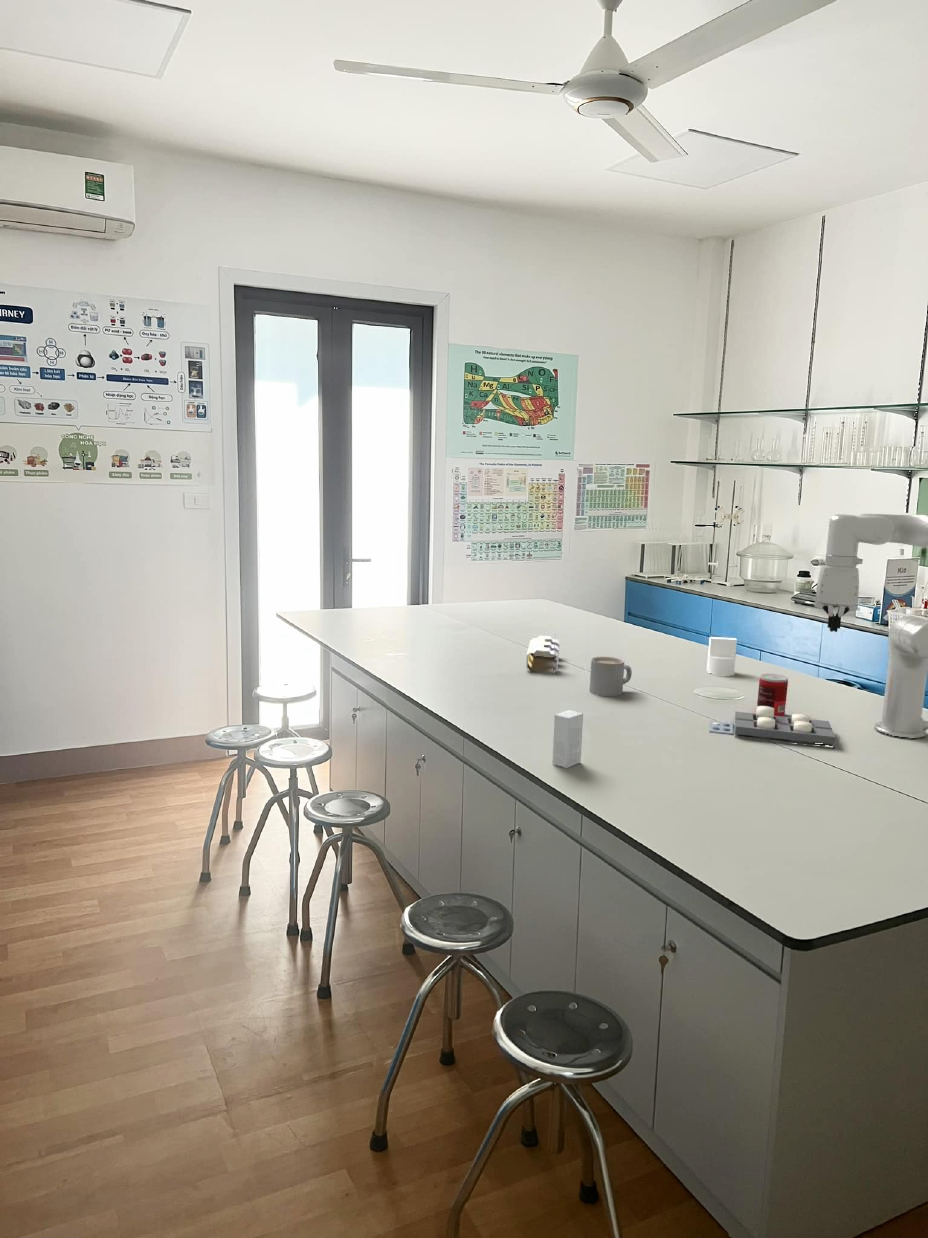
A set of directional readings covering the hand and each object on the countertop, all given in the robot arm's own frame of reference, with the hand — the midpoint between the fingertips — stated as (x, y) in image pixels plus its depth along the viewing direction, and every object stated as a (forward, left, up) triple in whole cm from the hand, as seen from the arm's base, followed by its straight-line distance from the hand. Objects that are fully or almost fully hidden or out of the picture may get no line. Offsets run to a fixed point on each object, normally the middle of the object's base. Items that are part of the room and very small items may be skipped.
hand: (833, 630), depth 240 cm
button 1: (+16, +6, -24) cm, 30 cm away
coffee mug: (+59, -17, -27) cm, 67 cm away
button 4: (+7, +14, -26) cm, 30 cm away
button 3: (+6, +6, -25) cm, 27 cm away
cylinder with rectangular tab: (+27, -58, -27) cm, 70 cm away
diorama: (+86, -45, -28) cm, 101 cm away
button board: (+14, +10, -27) cm, 32 cm away
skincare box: (+61, +54, -27) cm, 86 cm away
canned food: (+13, -10, -27) cm, 32 cm away
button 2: (+16, +14, -25) cm, 33 cm away
